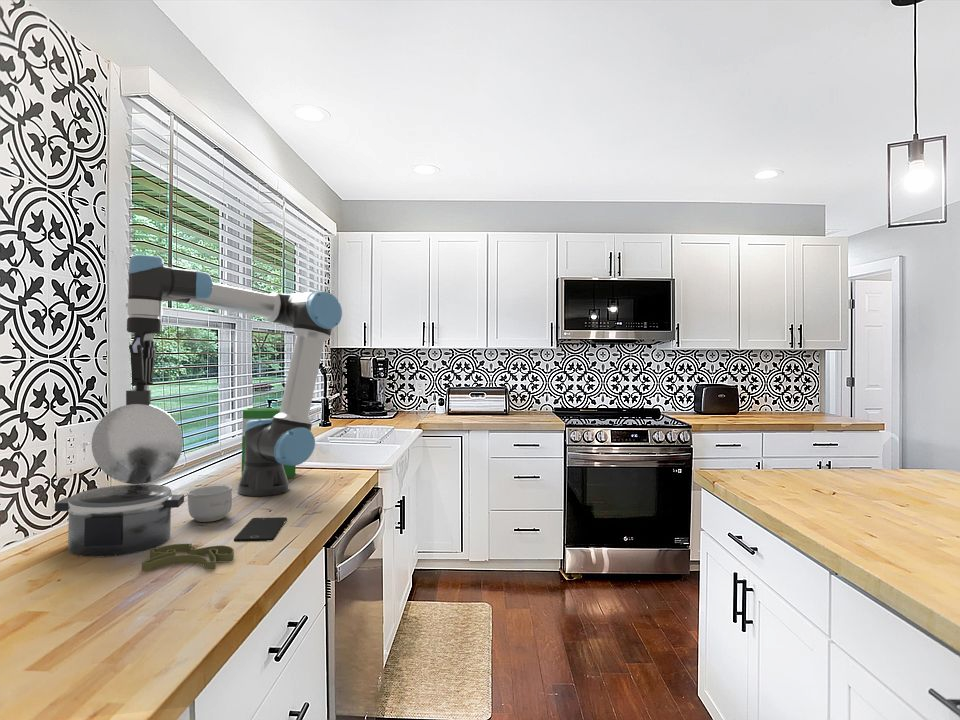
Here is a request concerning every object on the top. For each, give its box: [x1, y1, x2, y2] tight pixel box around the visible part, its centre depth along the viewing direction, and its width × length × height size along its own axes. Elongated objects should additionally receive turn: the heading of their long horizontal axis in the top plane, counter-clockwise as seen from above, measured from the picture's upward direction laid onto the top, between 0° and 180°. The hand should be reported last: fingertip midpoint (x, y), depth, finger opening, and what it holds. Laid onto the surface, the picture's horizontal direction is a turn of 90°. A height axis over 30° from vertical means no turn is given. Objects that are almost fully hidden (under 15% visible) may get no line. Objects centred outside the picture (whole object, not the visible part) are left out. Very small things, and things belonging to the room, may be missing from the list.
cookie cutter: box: [141, 543, 235, 572], centre depth 123 cm, size 18×12×2 cm, turn 97°
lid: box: [91, 389, 184, 485], centre depth 143 cm, size 20×23×2 cm
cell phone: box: [233, 516, 288, 542], centre depth 145 cm, size 9×18×1 cm, turn 8°
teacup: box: [186, 483, 233, 523], centre depth 154 cm, size 14×11×8 cm
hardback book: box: [240, 407, 297, 478], centre depth 207 cm, size 18×7×24 cm, turn 106°
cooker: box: [54, 483, 185, 557], centre depth 134 cm, size 25×22×11 cm
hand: (141, 411), depth 145 cm, fingers closed
